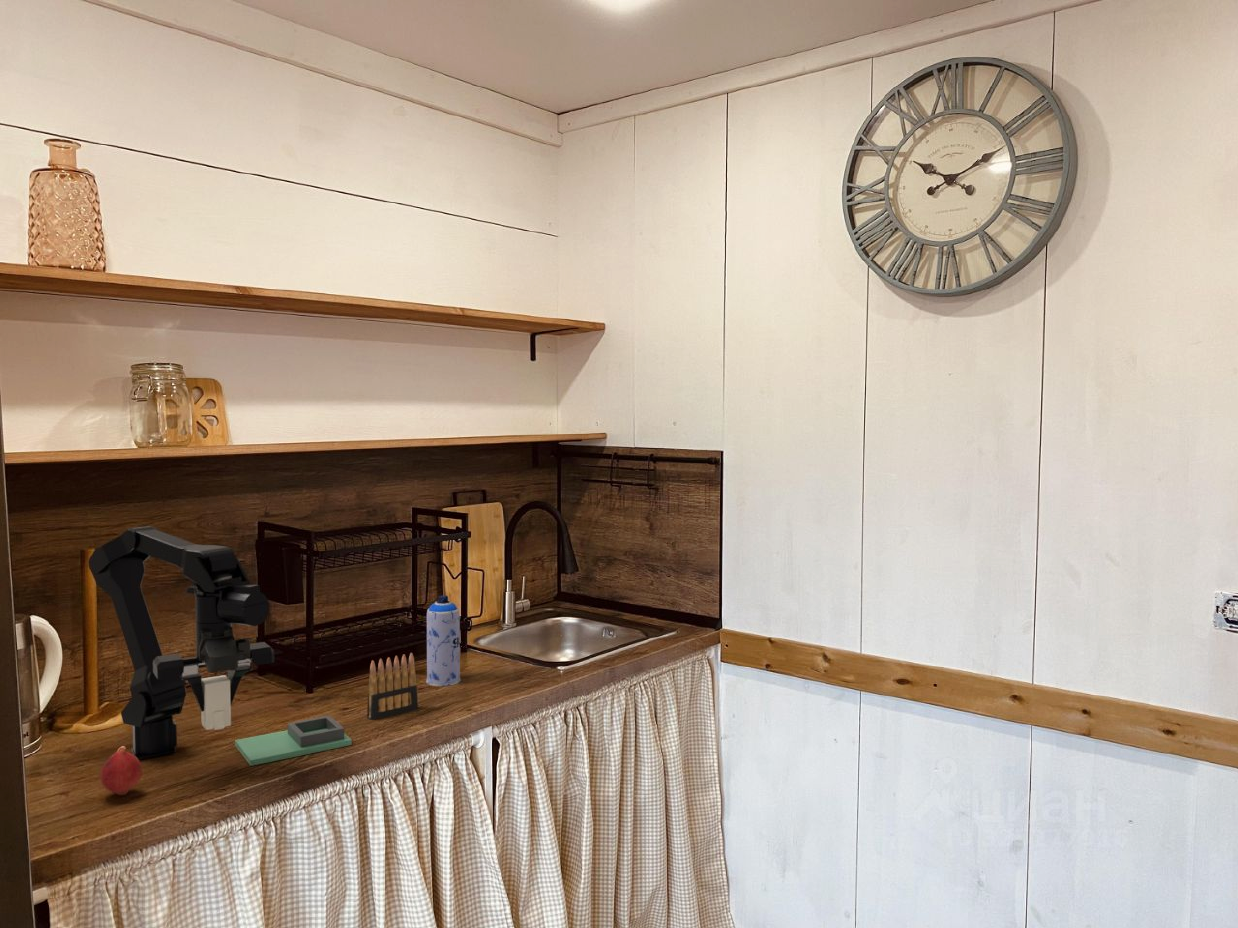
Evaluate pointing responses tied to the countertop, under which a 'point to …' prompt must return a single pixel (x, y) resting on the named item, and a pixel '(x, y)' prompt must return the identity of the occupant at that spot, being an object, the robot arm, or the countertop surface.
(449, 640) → the aerosol can
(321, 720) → the board
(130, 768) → the onion
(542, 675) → the countertop surface
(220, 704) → the plug
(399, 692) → the ammunition clip
